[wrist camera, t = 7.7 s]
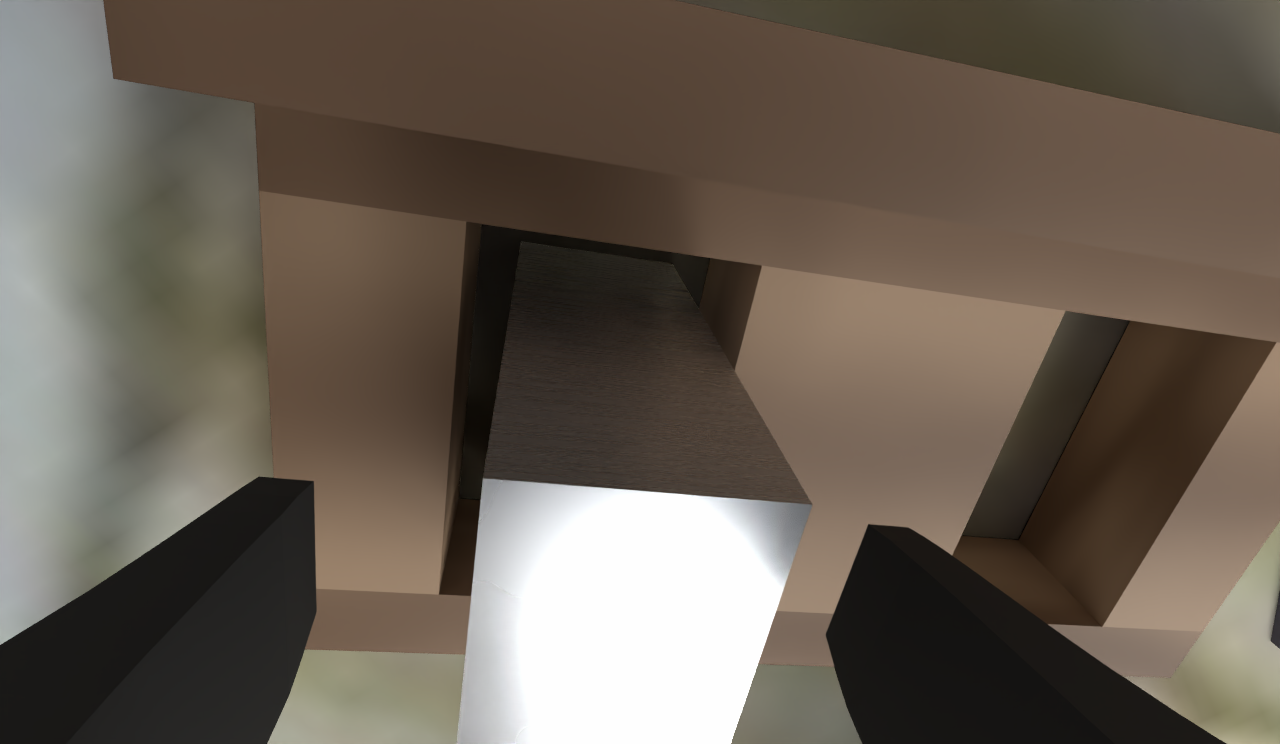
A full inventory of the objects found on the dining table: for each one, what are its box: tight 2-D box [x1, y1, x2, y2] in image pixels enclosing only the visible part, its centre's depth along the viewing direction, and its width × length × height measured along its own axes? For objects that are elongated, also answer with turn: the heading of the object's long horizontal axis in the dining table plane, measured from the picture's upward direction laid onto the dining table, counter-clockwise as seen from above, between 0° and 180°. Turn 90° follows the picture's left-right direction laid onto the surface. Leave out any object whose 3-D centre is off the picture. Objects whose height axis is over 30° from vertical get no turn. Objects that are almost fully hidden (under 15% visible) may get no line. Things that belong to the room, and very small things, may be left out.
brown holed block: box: [103, 0, 1280, 678], centre depth 12 cm, size 12×20×6 cm, turn 79°
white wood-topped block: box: [457, 242, 812, 744], centre depth 11 cm, size 6×3×8 cm, turn 169°
